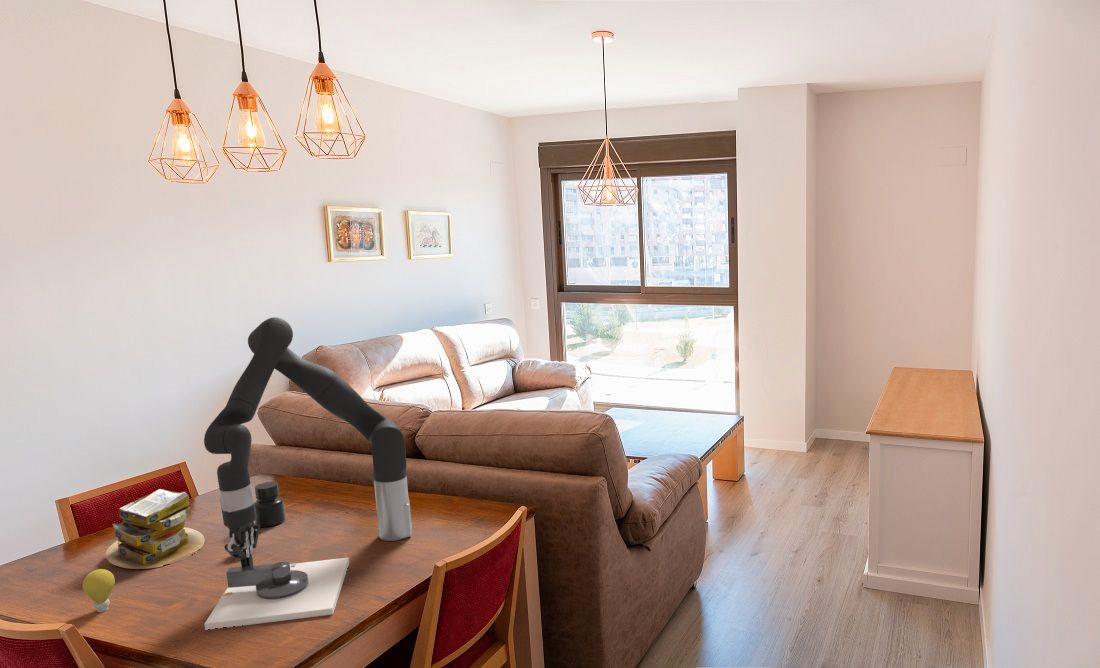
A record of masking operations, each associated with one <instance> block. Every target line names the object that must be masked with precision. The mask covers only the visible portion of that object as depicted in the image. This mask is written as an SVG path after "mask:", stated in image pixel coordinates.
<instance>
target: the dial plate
mask: <svg viewBox="0 0 1100 668" xmlns="http://www.w3.org/2000/svg"><path fill="white" fill-rule="evenodd" d="M349 566H350V557H342V558H333V559H324V560H314V561H307V562H305V561H304V562H292V563H290V570H298V571H303V572H305V573H306V574H307V576H308V585H307V586H306V587H305V588H304V589H303V590H301V591H300V592H298V593H296V594H293V595H290V596H287V597H283V598H277V599H265V598H261V597H259V596H258V595H257V593H256V586H245V587H232V588H228V587H227V588H226V589H225V591H224V592H223V594H222V596H221V597H220V598H219V601H218V602H217V604H216V605H215V607H214V608H213V610H212V612H211V613H210V614H209V616H208V618H207V619H206V620H205V622H204V631H209V630H208V629H210V630H216V629H215V628H218V629H224V628H223V627H227V628H233V626H235V627H241V626H242V625H243V626H249V625H257V624H259V625H260V624H267V623H275V622H283V621H289V620H291V621H292V620H298V619H307V618H315V617H323V616H332V615H334V612H335V609H336V605H337V602H338V600H339V596H340V593H341V591H342V588H343V584H344V581H345V578H346V575H347V572H346V571H348V569H347V568H349Z"/></svg>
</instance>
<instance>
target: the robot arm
mask: <svg viewBox="0 0 1100 668" xmlns="http://www.w3.org/2000/svg"><path fill="white" fill-rule="evenodd" d="M293 339H294V332H293V329H292V326H291V325H290V323H289V322H288V321H287V320H285V319H284V318H281V317H275V316H274V317H269V318H267V319H266V320H263V321H262V322H261V323H260V324H259V325H257V327H256V328H255V329H253V330H252V331H251V332H250V334H249V335H248V338H247V344H248V347H249V349H250V351H251V352H252V353H253V355H252V357H251V359H250V360H249V361H250V362H249V363H248V364H247V366H246V368H245V369H244V371H243V373H242V374H241V375H240V377H239V378H238V380H237V382H236V384H235V386H234V387H233V388H232V389H233V390H232V391H231V393H230V396H229V398H228V400H227V402H226V405H225V407H224V408H223V409H222V410H221V411H220V412H219V413H218V415H217V416H216V417H215V419H213V420H212V422H210V425H209V426H208V427H207V429H206V431H205V433H204V439H203V446H204V448H205V450H206V451H207V452H209V453H210V454H213V455H230V461H226V462H224V463H221V464H220V465H219V466H218V467H217V469H216V476H217V482H218V483H217V484H218V489H219V501H220V502H219V503H220V509H221V514H222V520H223V521H222V522H223V526H225V527H226V528H228V530H229V533H228V538H229V539H230V540H229V542H228V544H225V545H224V550H225V551H226V552H227V553H228V554H229V555H230V556H231V557H232V558H233V559H234V560H235V559H240V565H241V566H240V567H245V566H254V561H253V553H254V549H257V546H258V545H257V544H258V540H259V536H260V530H261V527H260V525H256V524H255V520H256V517H257V516H256V509H255V497H254V491H253V487H252V484H251V478H250V471H249V462H250V455H251V448H252V434H251V431H250V430H249V428H248V427H246V425H243V424H246V423H250V422H251V421H252V420H253V418H254V417H255V414H256V412H257V410H258V408H259V405H260V403H261V400H262V399H263V398H262V397H263V395H264V393H265V390H266V388H267V386H268V383H269V381H270V378H271V377H272V374H273V373H274V370H276V371H277V372H279V374H281V375H283V376H284V377H286V378H287V379H288V380H289V381H291V382H292V383H293V384H294V385H296V386H297V387H298V388H299V389H301V390H302V391H303V392H304V393H306V394H307V396H309V397H310V398H311V399H312V400H314V401H315V402H316V403H317V404H318V405H320V406H321V407H322V408H323V409H324V410H325V411H327V412H329V413H330V414H332V415H334V416H335V417H337V418H339V419H341V420H343V421H345V422H347V423H348V424H349V425H351V426H352V427H353V428H355V430H357V431H358V432H359V433H360V434H361V435H362V436H363V438H365V439H366V441H368V443H370V448H371V455H372V458H371V459H372V466H373V469H372V473H373V474H372V475H373V487H374V496H375V497H374V498H375V506H376V517H377V527H378V538H379V539H380V540H382V541H386V542H387V541H388V542H391V541H392V542H394V541H399V540H403V539H406V538H409V537H410V538H411V537H412V532H413V524H412V514H411V502H410V498H409V492H408V491H409V489H408V477H407V454H406V443H405V436H404V433H403V432H402V430H401V428H400V427H399V426H398V425H397V424H396V423H395V422H393V421H392V420H391V419H389V418H387V417H386V416H384V415H383V414H381V413H380V412H378V411H377V410H375V409H374V408H373V407H372V406H370V405H369V404H368V403H367V402H366V400H364V398H362V397H361V395H360V394H359V393H358V392H357V391H356V390H355V389H354V388H353V387H352V386H351V385H350V384H349V383H348V382H346V381H345V380H344V379H343V378H342V377H340V376H339V374H337V373H336V372H334V371H333V370H332V369H330V368H328V367H325V366H323V365H320V364H317V363H315V362H312V361H309V360H306V359H304V358H302V357H300V356H299V355H297V354H296V353H295V352H294V351H293V350H292V349H290V348H289V346H290V345H291V343H292V341H293Z"/></svg>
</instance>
